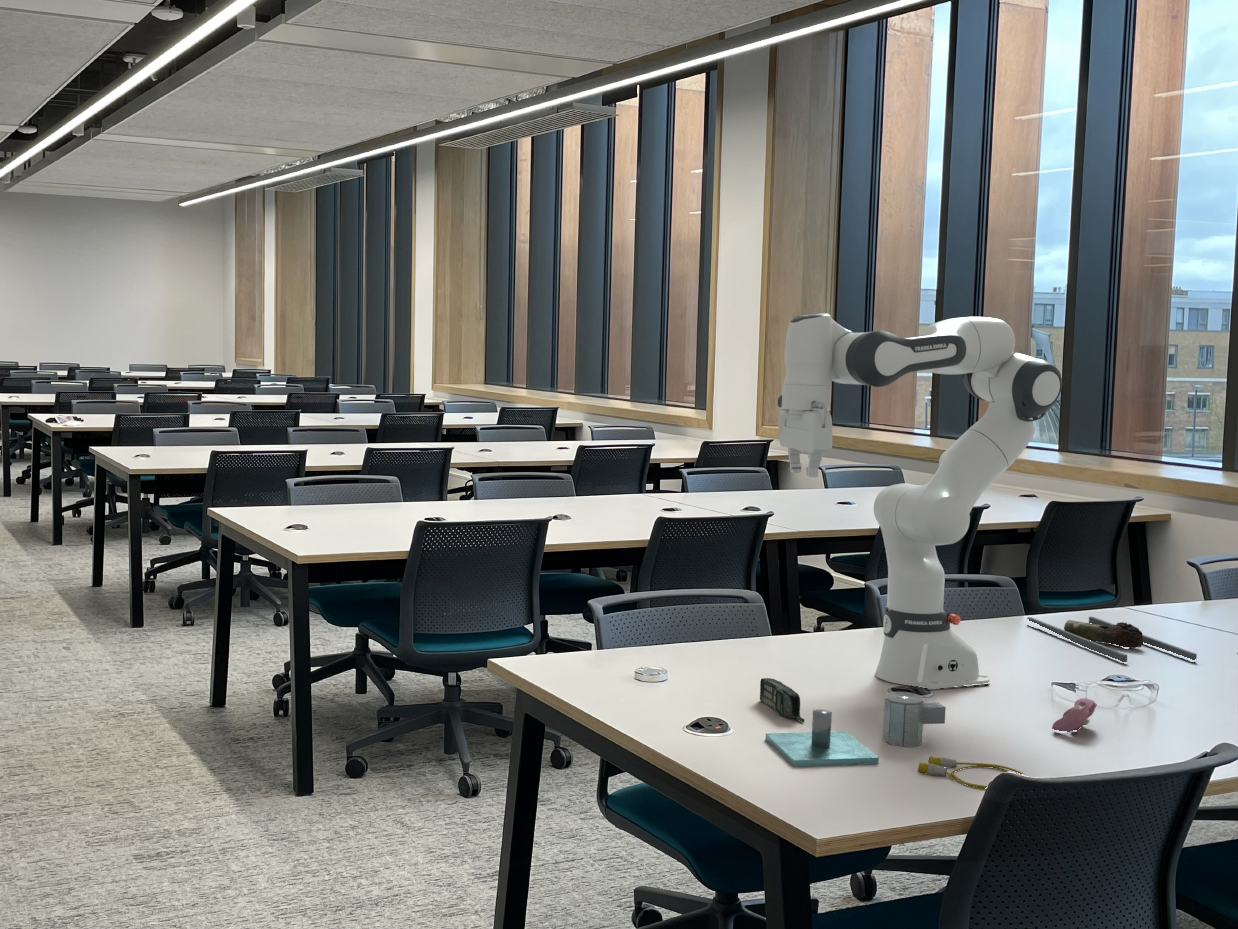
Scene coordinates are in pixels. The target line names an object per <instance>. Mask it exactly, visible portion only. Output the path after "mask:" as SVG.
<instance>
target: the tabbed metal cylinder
mask: <svg viewBox="0 0 1238 929" xmlns="http://www.w3.org/2000/svg"><path fill="white" fill-rule="evenodd" d="M885 696H886V697H885V698H884V706H883V707H884V709H883V710H884V711H883V712H884V713H883V724H882V725H883V729H882V740H883V741H884V742H886V743H887V744H888V745H894V746H897V745H898V747H904V746H905V747H906V746H908V747H917V746H916V745H918V744H919V745H921V744H922V743H923V732H924V731H923V729H924V725H936V724H937V725H939V724H940V725H941V724H943V725H944V724H946V706H944V705H942V703H939V702H925V700H924V697H923V696H922V695H920V694H917V693H913V692H908V691H892V692H888V693H886V694H885ZM921 742H922V743H921ZM920 743H921V744H920ZM919 745H918V746H919Z"/></svg>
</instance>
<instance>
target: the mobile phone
mask: <svg viewBox="0 0 1238 929" xmlns="http://www.w3.org/2000/svg"><path fill="white" fill-rule="evenodd" d="M759 684H760V686H759V700H760V702H761V703H762V704H763V705H766V706H768V707H769V708H770V709H771V710H773V711H774V712H775V713H777V714H778V715H779V716H782V717H784V718H789V719H794V720H795V719H796V720H797V721H799V722H801V723H805V720H806V719H805V718H803V717H801V697H800V695H799V693H798V692H796V691H795V690H793V688H791V687H789V686H787V685H786V684H784V683H783V682H781V681H779V680H776V679H775V678H770V677H765V678H761V679H760V682H759Z"/></svg>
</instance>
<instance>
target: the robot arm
mask: <svg viewBox="0 0 1238 929" xmlns="http://www.w3.org/2000/svg"><path fill="white" fill-rule="evenodd" d="M784 346H785V347H784V364H785V377H784V379H783V387H782V388H783V389H782V392H781V394H779V395H778V396H777V399H776V408H777V409H779V412H778V440H779V444H780V446H781V447H783V448H787V455H788V459H789V471H790V472H791V473H793V474H794V473H797V474H800V473H801V472H802V463H801V456H800V455H801V453H802V452H805V453H807V454H808V459H809V460H808V464H807V466H806V469H805V470H806V472H805V474H806V477H808V478H817V477H818V476H819V468H820V465H821V462H822V457H823V455H828V454H830V453H831V451H832V449H833V421H832V420H833V419H832V415H831V413H830V412H829V411H831V402H832V401H831V400H832V382H834V383H836V384H837V383H838V384H845V385H861V386H862V385H863V386H870V387H877V388H881V387H886V386H889V385H891V384H892V383H895V381H897V380H898V379H900V378H902V377H903V376H905V375H907V374H910V373H913V372H914V373H915V372H920V371H927V370H928V371H930V372H931V373H933V374H937V375H938V374H940V375H962V380H963V384H964V387H965V390H966V391H968V392H969V393H970V395H972V396H973V397H975V398H976V399H979V400H981V401H986V402H988V407H987V409H986V411H985V412H984V414H983V415H982V417H981V418H980V419H979V420H977V421H976V422H975V423H974V424H973V425H971V426H970V427H969V428H968V429H967V430H966V431H965V432H964V433H962V434H961V436H959V438H957V439H956V440H955V441H954V442H953V443H952V444H951V445H949V447H948V448H947V449H946V450H945V451H943V453H942V454H941V455H940V457H939V461H938V468H937V470H936V471H935V473H934V475H933V476H932V477H931V479H930V480H929V481H928V482H926V483H924V484H922V485H918V484H914V483H913V484H912V483H905V482H904V483H902V482H901V483H897V484H896V483H895V484H892V485H889V486H886V487H885V488H883V489H882V490H880V491H879V493H878V494H877V495H876V497H875V499H874V502H873V515H874V518H875V520H876V521H877V524H878V526H879V527H880V530H881V534H882V538H883V544H884V548H885V550H884V551H885V555H886V561H887V572H888V574H887V597H886V598H887V599H886V600H887V602H886V605H885V606H884V615H883V622H882V623H883V625H882V626H883V628H882V629H883V635H884V636H883V643H882V648H881V654H880V658H879V661H878V665H877V668H876V670H875V672H874V675H875V676H876V677H877V678H878V679H881V680H883V681H886V682H889V683H894V684H898V685H904V686H911V685H912V686H911V687H916V686H921V687H925V688H928V689H927V690H941V689H940V688H944V689H948V688H947V687H954V686H964V685H972V684H983V683H988V682H989V681H990V677H989V676H988V675H987V674H986V673H985V672H983V671H981V670H980V668H979V667H980V666H979V660H978V655H977V652H976V651H975V649H974V648H973V647H972V646H971V645H970V644H969V643H967V642H966V641H965V640H964V639H963V638H962V637H960V636H959V634H957V633H956V632H955V631H954V630H952V629H951V625H954V626H959V623H960V624H961V621H962V619H961V617H960V615H959V614H958V615H957V614H955V613H949V612H947V611H946V610H944V600H945V598H944V596H945V580H946V576H945V569H944V568H943V566H942V564H941V562H940V560H939V558H938V553H937V550H936V546H945V545H947V546H948V545H953V544H955V543H957V542H959V541H960V540H961V539H963V538H964V537H965V536H966V534H967V532H968V530H969V528H970V524H971V523H970V522H971V515H970V514H971V512H972V509H973V508H974V506H975V504H976V503H977V502H978V500H979V498H980V497H981V496H982V494H983V493H984V492H985V491H986V490H988V488H990V486H991V485H993V483H994V482H996V480H997V479H998V478H999V477H1000V476H1001V475H1003V473H1004V472H1005V471H1006V470H1008V468H1009V467H1011V466H1012V465H1013V464H1014V462H1015V461H1016V460H1017V459H1018V458H1019V457H1020V455H1021V454H1022V453H1023V452H1024V450H1025V449H1026V448H1027V446H1028V445H1029V444H1030V442H1031V441H1032V439H1033V437H1034V435H1035V423H1034V422H1035V421H1038V420H1040V419H1042V418H1044V417H1045V415H1047V412H1048V411H1050V410H1051V409H1052V407H1053V406H1054V405H1055V403H1056V402H1057V401H1058V400H1059V397H1060V394H1061V392H1062V389H1063V378H1062V374H1061V372H1060V370H1059V369H1058V367H1056V366H1054V365H1053V364H1052V363H1051V362H1049V361H1047V360H1045V359H1042V358H1035V357H1033V356H1030V355H1028V354H1023V353H1020V352H1015V348H1016V337H1015V333H1014V331H1013V329H1012V327H1011V326H1010V325H1009V324H1008V323H1007V322H1006V321H1004V320H1002V319H1000V318H994V317H986V316H985V317H984V316H965V317H953V318H948V319H947V318H946V319H944V320H940V321H937V322H933V323H931V324H929V325H928V326H927V327H926V328H925V330H924V332H923V333H922V336H915V337H914V336H913V337H912V336H911V337H901V336H898V335H896V334H894V333H892V332H888V331H885V330H874V331H867V332H853V331H852V330H849V329H847V328H845V327H844V326H841V324H839V323H837V322H836V321H835V320H834V319H833V318H832V316H831V315H830V314H828V313H826V312H816V313H807V314H802V315H797V316H796V317H794V318H792V319H791V320H790V322H789V324H788V328H787V330H786V337H785V345H784ZM990 682H991V681H990Z"/></svg>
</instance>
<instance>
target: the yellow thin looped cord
mask: <svg viewBox="0 0 1238 929" xmlns="http://www.w3.org/2000/svg"><path fill="white" fill-rule="evenodd" d="M927 760H928V762H927V763H925V762H924V763H923V762H919V763H918V765H917V766H918V767H917V773H918V772H920V773H919V774H925V773H927V774H931V775H930V776H935V775H940V776H939V777H942V776H943V777H946V776H947V777H948V778H949V779H951V781H952V780H955V781H957V782H958V781H959V783H960V784H961V783H963V784H966V785H968V786H970V787H969V788H972V787H974V788H973V789H977V788H979V789H978V790H985V788H986V787H987V786H988V785H982V784H975V783H969V782H966V781H965V780H962V779H961V778H960V777H958V776H956V775H955V774H954V772H955V771H957V772H959V771H961V770H960V769H962V770H964V769H963V768H967V769H969V768H968V767H975V768H984V767H993V768H992V769H994V768H997V769H996V770H999V769H1001V770H1000V771H1003V772H1005V771H1011V772H1014V771H1015V772H1014V773H1017V772H1018V773H1017V774H1019V773H1020V774H1019V775H1021V774H1024V775H1026V774H1025V773H1023V772H1021V771H1019V770H1017V769H1014V768H1012V767H1009V766H1005V765H1000V764H993V763H982V762H962V761H961V762H960V761H959V762H958V761H957V760H956V759H953V758H948V757H934V756H932V755H930V756H929V757H928V759H927ZM957 765H962V767H959V768H956V767H957ZM944 767H952V768H955V769H954V770H952V771H950V773H949V772H948V771H947V768H944ZM958 770H959V771H958ZM955 773H956V772H955ZM927 774H926V775H927ZM963 784H962V785H963ZM966 785H965V786H966ZM968 786H967V787H968Z"/></svg>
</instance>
